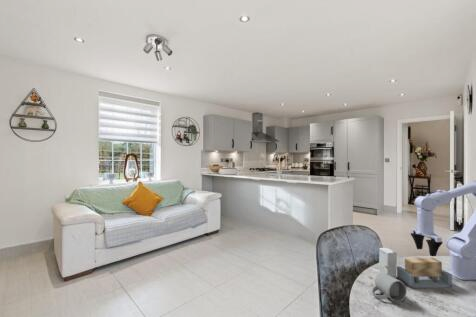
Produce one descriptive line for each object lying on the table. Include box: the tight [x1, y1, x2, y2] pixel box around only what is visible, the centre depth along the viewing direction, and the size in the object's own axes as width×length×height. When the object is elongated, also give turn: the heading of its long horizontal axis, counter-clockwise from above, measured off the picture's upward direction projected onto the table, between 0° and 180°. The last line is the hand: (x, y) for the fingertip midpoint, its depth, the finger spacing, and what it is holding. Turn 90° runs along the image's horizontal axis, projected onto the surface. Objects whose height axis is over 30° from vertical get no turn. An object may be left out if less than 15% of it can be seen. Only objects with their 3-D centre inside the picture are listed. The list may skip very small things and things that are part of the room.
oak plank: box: [404, 257, 443, 277], centre depth 98 cm, size 12×4×6 cm, turn 89°
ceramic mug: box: [371, 274, 407, 303], centre depth 89 cm, size 11×8×8 cm
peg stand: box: [396, 266, 453, 289], centre depth 98 cm, size 17×8×5 cm, turn 89°
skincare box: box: [378, 247, 398, 279], centre depth 103 cm, size 6×4×12 cm
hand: (426, 252), depth 105 cm, fingers open, 7 cm apart
